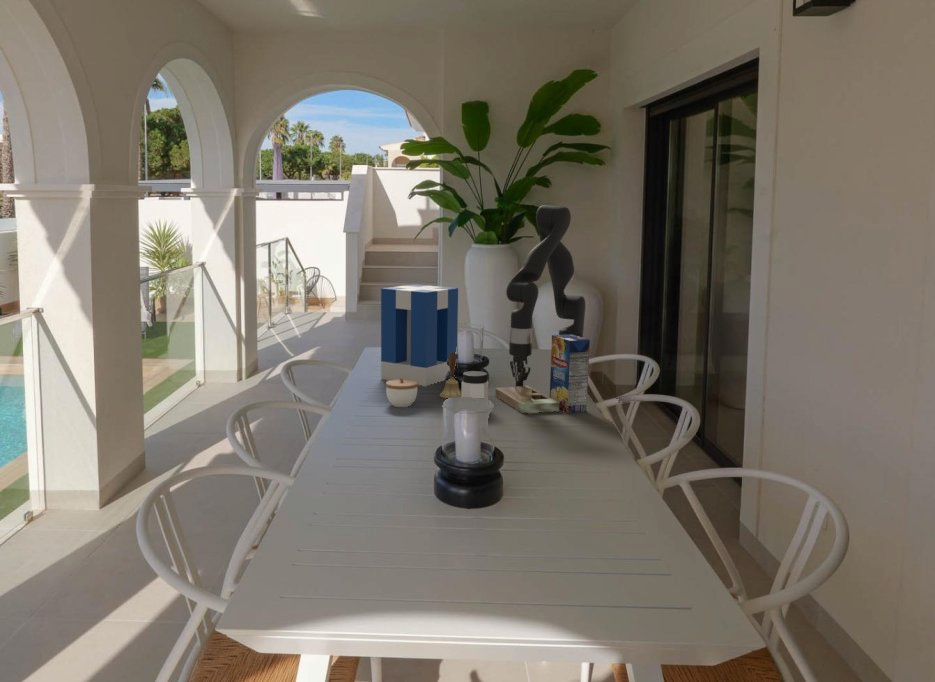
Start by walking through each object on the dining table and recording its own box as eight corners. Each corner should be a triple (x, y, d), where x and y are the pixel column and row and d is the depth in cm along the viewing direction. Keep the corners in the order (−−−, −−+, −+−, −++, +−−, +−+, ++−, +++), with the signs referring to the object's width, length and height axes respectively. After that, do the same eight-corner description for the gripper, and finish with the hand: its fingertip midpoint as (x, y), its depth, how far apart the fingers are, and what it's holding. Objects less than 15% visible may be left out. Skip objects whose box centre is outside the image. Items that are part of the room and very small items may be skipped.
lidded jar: (422, 403, 269) (422, 376, 267) (410, 410, 259) (410, 382, 257) (393, 400, 272) (393, 373, 271) (380, 407, 262) (380, 379, 261)
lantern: (456, 376, 312) (458, 288, 306) (425, 386, 294) (426, 292, 288) (413, 370, 323) (414, 284, 317) (381, 379, 305) (381, 288, 299)
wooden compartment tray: (529, 394, 285) (529, 386, 284) (559, 411, 261) (559, 402, 261) (495, 396, 281) (495, 388, 280) (522, 413, 257) (522, 404, 257)
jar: (492, 409, 262) (493, 374, 260) (473, 413, 256) (474, 377, 254) (475, 404, 268) (476, 369, 266) (456, 407, 263) (457, 372, 261)
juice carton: (549, 404, 270) (551, 335, 266) (568, 403, 273) (571, 334, 269) (567, 413, 259) (569, 340, 255) (586, 411, 262) (589, 339, 258)
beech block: (526, 397, 267) (527, 385, 266) (531, 400, 263) (531, 388, 262) (515, 398, 266) (516, 386, 265) (520, 400, 262) (520, 389, 261)
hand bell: (467, 395, 282) (467, 351, 279) (456, 400, 274) (457, 354, 271) (446, 392, 285) (446, 348, 282) (435, 397, 277) (436, 352, 275)
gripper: (539, 343, 260) (537, 395, 263) (523, 337, 272) (522, 386, 275) (517, 344, 258) (516, 396, 260) (503, 338, 270) (501, 387, 273)
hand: (519, 391), depth 268 cm, fingers closed
